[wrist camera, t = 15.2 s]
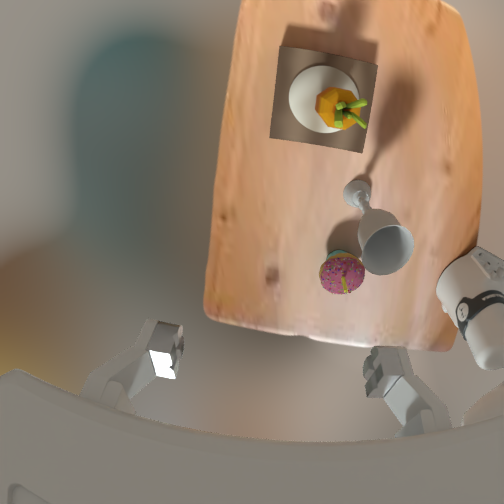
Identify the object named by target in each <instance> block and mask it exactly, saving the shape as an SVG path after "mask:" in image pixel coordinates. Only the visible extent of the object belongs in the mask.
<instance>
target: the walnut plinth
mask: <svg viewBox="0 0 504 504" xmlns="http://www.w3.org/2000/svg"><path fill="white" fill-rule="evenodd" d="M377 67H378V65H375V64H372V63H368V62H364V61H360V60H356V59H352V58H348V57H343V56H339V55H334V54H329V53H324V52H318V51H312V50H306V49H300V48H293V47H285V46H280V48H279V57H278V66H277V75H276V84H275V93H274V102H273V111H272V120H271V128H270V137H269V138H274V139H281V140H289V141H296V142H303V143H309V144H315V145H321V146H327V147H332V148H338V149H343V150H348V151H353V152H358V153H363V148H364V143H365V138H366V133H367V128H368V123H369V117H370V112H371V106H372V100H373V94H374V88H375V81H376V74H377ZM328 87H336V88H341V89H346V90H350V91H352V93H353V94H354V95H355V97H356V98H357V100H359V99H362V98H363V99H366V100H367V105H365V106H363V107H361V110H360V116H359V117H360V118H361V119H363V120H364V121H365V122H366V123H367V127H366V128H365V129H364V128H363V127H361V126H360V125H359V124H358V123H355V124H354V125H352V126H350V127H349V128H347V129H346V130H342V129H337V128H332V127H328V126H327V125H326V124H325V122H324V121H323V120H322V118H321V117H320V116H319V115H318V113H317V112H316V110H315V104H316V97H317V95H318V94H319V93H321V92H322V91H324V90H325V89H327V88H328Z"/></svg>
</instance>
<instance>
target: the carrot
mask: <svg viewBox="0 0 504 504" xmlns="http://www.w3.org/2000/svg"><path fill="white" fill-rule="evenodd" d="M365 105H367V100H366V99H363V98H362V99H359V100H357V98H356V97H355V95H354V94H353V93H352V91H350V90H346V89H341V88H336V87H328V88H327V89H325V90H324V91H322V92H321V93H319V94H318V95H317V97H316V104H315V110H316V112H317V113H318V115H319V116H320V117H321V118H322V120H323V121H324V122H325V124H326V125H327V126H328V127H332V128H337V129H342V130H346V129H347V128H349V127H350V126H352V125H354V124H355V123H358V124H359V125H360V126H361V127H363V128H364V129H365V128H366V127H367V123H366V122H365V121H364V120H363V119H361V118H360V117H359V116H360V110H361V107H363V106H365Z"/></svg>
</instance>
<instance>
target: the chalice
mask: <svg viewBox="0 0 504 504" xmlns="http://www.w3.org/2000/svg"><path fill="white" fill-rule="evenodd" d="M343 196H344V200H345V201H346V203H347V204H349V205H350V206H353V207H357V208H360V210H362V213H363V216H362V218H361V220H360V223H359V227H358V234H357V236H358V241H359V244H360V246H361V249H362V256H361V258H362V263H363V265H364V267H365V268H366V270H367V271H369V272H371V273H372V274H376V275H388V274H391V273H393V272H396V271H397V270H399V269H400V268H402V267H403V266H404V265H405V264H406V263H407V262H408V260H409V259H410V257H411V255H412V252H413V248H414V239H413V236H412V234H411V232H410V231H409V230H407V229H406V228H405V227H402V226H401V225H400V223H399V222H398V220H397V219H396V217H395V216H394V215H393V214H391V213H390V212H387V211H385V210H381V209H372V208H371V207H370V206H369V200H370V197H371V189H370V186H369V185H368V184H367V183H366V182H365V181H362V180H354V181H351V182H350V183H349V184H347V186H346V187H345V189H344V192H343Z"/></svg>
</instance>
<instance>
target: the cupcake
mask: <svg viewBox="0 0 504 504" xmlns="http://www.w3.org/2000/svg"><path fill="white" fill-rule="evenodd" d="M364 275H365V268H364V265H363V263H362V262H361V261H360V260H359V259H358V258H357V257H356V256H354V255H352V254H350V253H347V252H345V251H343V250H336V251H333V252H332V253H330V254H329V255H328V257H327V259H326V261H325V262H324V263H323V264H322V266H321V268H320V272H319V277H320V280H321V284H322V286H323V288H325V289H326V290H328V291H329V292H331V293H334V294H347V293H351V291H354V290H356V289H357V288H358V287H359V286H360V285H361V284H362V282H363V280H364V277H365V276H364Z"/></svg>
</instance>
